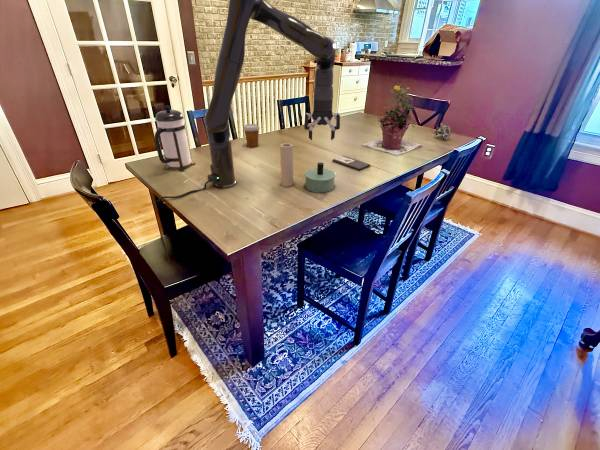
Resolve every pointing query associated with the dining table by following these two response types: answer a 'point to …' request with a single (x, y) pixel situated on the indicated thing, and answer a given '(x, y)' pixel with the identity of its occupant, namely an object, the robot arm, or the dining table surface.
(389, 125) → the potted flower
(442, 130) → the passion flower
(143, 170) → the dining table surface
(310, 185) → the pot
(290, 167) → the light brown hollow cylinder
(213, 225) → the dining table surface
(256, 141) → the disposable coffee cup
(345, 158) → the chocolate bar
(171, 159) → the coffee press
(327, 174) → the lid
